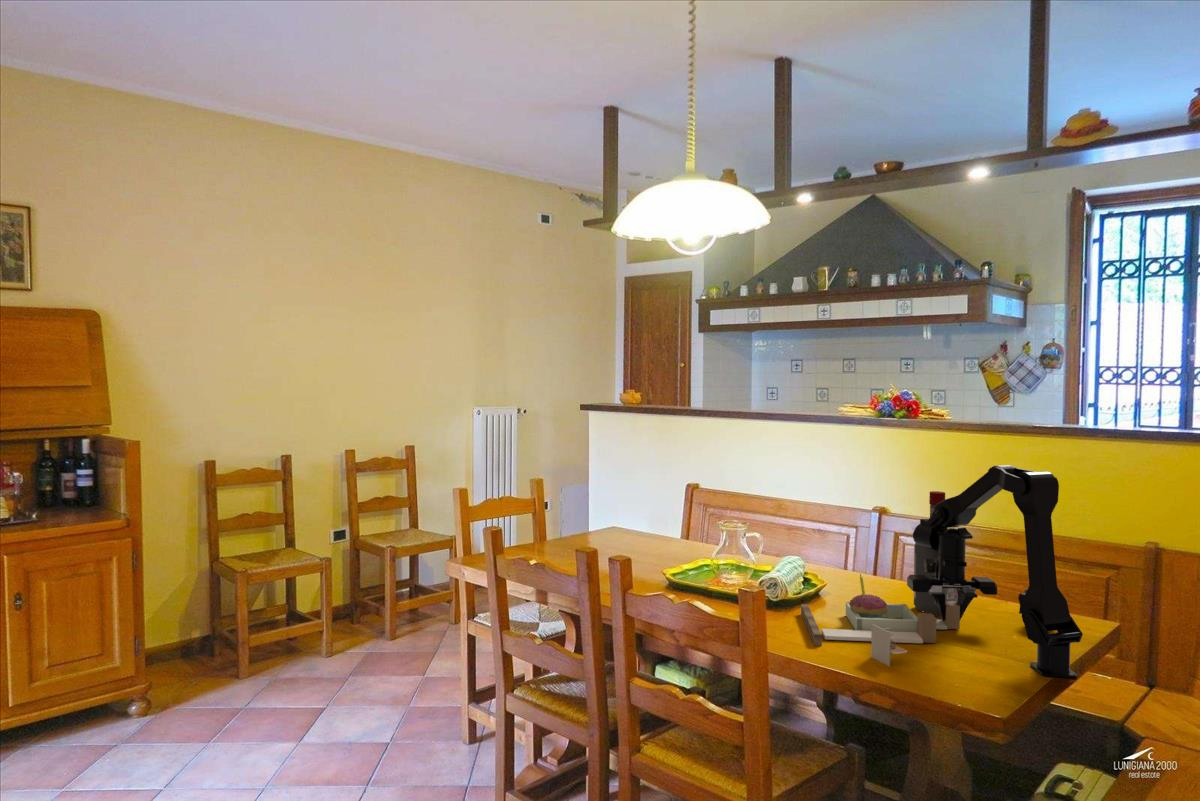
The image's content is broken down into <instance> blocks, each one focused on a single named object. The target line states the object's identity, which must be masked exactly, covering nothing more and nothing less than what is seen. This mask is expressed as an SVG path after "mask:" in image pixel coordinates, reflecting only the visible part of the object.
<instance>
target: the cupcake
mask: <svg viewBox="0 0 1200 801" xmlns="http://www.w3.org/2000/svg"><path fill="white" fill-rule="evenodd" d="M859 582H860V587H861V588H860V590H861V594H859V595H856V596H853V597H852V598H851V599H850V601H848V602H849V605H850V608H851V609H852V610H853V611H854V612H856V613H858V614H859V615H860V617H863V618H883V617H882V615H883V614H886V613H887V610H888V608H887V604H888V603H886V601H885V600H884V599H883V598H882V597H879V596H877V595H874V594H870V593H869V594H866V591H865V584H864V579H863V576H862V574H861V573H859Z"/></svg>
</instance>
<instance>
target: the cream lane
mask: <svg viewBox="0 0 1200 801" xmlns="http://www.w3.org/2000/svg"><path fill="white" fill-rule="evenodd" d="M917 617H918V633H917V632H893V631H889V632H890V643H891V640H893V641H892V643H894V641H895V642H896V643H900V644H902V643H904V644H924V643H927V644H928V643H931V644H932V643H933V644H936V643H937V629H936V619H937V617H936V615H933V614H932V613H924V612H918V613H917ZM821 634H822V637H823V638H824V640H832V641H853V642H854V641H855V642H857V641H858V642H871V636H872V631H868V630H855V629H840V628H839V629H837V628H821ZM892 634H893V635H892Z"/></svg>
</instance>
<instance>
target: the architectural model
mask: <svg viewBox="0 0 1200 801" xmlns="http://www.w3.org/2000/svg"><path fill="white" fill-rule="evenodd" d="M889 629H890V628H885V629H882V628H880V627H878V626H875V625H873V624H872V636H871V641H870V642H871V647H870V648H871V650H870V651H871V652H870V654H871V655H870V657H871V658H872V659H874V660H876V661H878V662H880V663H882V664H883V663H884V665H885V664H886V665H885V666H887V665H888V666H887V667H891V655H892V654H894V655H897V654H898V655H899V654H903V653H908V650H907V649H905V648H903V647H900V646H899V645H897V644H896V643H897V642H895V641H894V642H892V641H893V640H891V642H890V632H889V631H888V630H889ZM892 635H893V634H892Z"/></svg>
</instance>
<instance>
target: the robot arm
mask: <svg viewBox="0 0 1200 801" xmlns="http://www.w3.org/2000/svg"><path fill="white" fill-rule="evenodd" d="M1002 490H1003V491H1005V492H1006V491H1007V492H1010V493H1011V494H1012V497H1013V501H1014V504H1015V505H1016V507H1017V508H1018V509H1019V511H1020V512H1021V515H1023V526H1024V536H1025V549H1026V550H1025V551H1026V560H1027V561H1026V562H1027V571H1028V572H1027V574H1028V588H1027V589H1026V590H1027V591H1026V593H1024V592H1022V593H1019V594H1018V598H1017V599H1018V603H1019V611H1018V614H1019V615H1020V614H1021V619H1022V622H1023V624H1024V628H1025V629H1024V630H1025V634H1026V636H1027V637H1026V638H1027V639H1028V641H1031V642H1032V643H1033V644H1036V645H1037V646H1036V648H1037V649H1036V661H1035V662H1034V661H1030V662H1029V665H1030V666H1031V667H1032V668H1033V669H1035V670H1036V672H1038V673H1039V674H1040V675H1041V676H1043V677H1053V678H1054V677H1056V678H1057V677H1058V678H1078V674H1077V673H1076V672H1075V671H1073V670H1072V669H1071V644H1073V643H1074V644H1075V643H1081V640H1082V637H1083V636H1084V633H1083V631H1082V630H1081V629H1080V627H1079V625H1078V624H1077V623H1076V622H1075V620H1074V619H1073V617H1072V615H1071V613H1070V610H1069V609H1070V608H1069V604H1068V602H1067V601H1068V600H1067V599H1066V597H1065V595H1064V594H1063V593H1062V591H1061V590H1060V588H1059V587H1058V580H1057V571H1056V570H1057V569H1056V558H1055V547H1054V546H1055V545H1054V534H1053V521H1052V515H1053V512H1054V511H1055V508H1056V506H1057V504H1058V502H1059V491H1060V484H1059V480H1058V477H1055V475H1054V474H1053V473H1051V472H1050V471H1047V470H1043V471H1034V470H1029V469H1025V468H1024V469H1023V468H1019V467H1016V466H1013V465H1010V464H1007V465H1006V464H1004V465H1001V464H1000V465H993V466H991V467H989V469H988V470H987V472H986V473H984V474H982V476H981V477H979V478H978V479H977V480H976V481H975V482H973V483H972V484H971V485H970V486H968V487H967V488H966V489H964V490H963V491H962V492H961V493H959V494H957V495H955V496H952V497H949V498H945V500H943V501H941V502H939V503H938V504H937V505H936V506H935V508H934V509H935V510H934V512H933V513H932V515H931V517H930V516H929V518H921V519H919V524H918V525H916V527H915V528H914V530H913V532H912V539H913V542H914V544H915V543H916V544H918V545H920V546H923V547H926V548H930V549H933V550H939V556H937V562H934V560H933V559H924V572H925V573H932V577H935V578H938V580H934V579H929V578H927V577H926V576H925V575H914V574H909V575H908V576H907V579H906V586H907V587H908V588H909V590H911V591H912V592H914V591H915V592H928V593H929V594H931V595H932V596H933V597H934V599H935V601H936V604H937V607H938V610H939V613H940V618H941V619H940V620H943V621H945V594H944V593H943V592H942V588H956V589H957V594H958V601H957V604H959V605H960V621H961V619H962V617H963V616H964V614H965V611H966V610H967V608H968V607H969V605H970V603H971V602H972V601H973V599H977V598H978V594H977V593H976V591H977V590H979V591H980V592H981V593H982V594H983V595H987V596H988V595H989V596H990V595H992V596H993V595H995V596H997V595H998V584H997V583H996V582H995V581H994V580H992V579H991V578H989V577H988V576H972V577H971V579H970V580H967V579H966V567H967V566H968V564H967V561H966V541H967V540H969V539H970V540H972V539H973V537H974V536H973V535H972V533H971V532H969V531H968V530H967V528H966V527H965V526H967V525H969V524H970V523H971V521H972V520H973V519H974V518H975V517H976V515H977V510H978V509H979V508H980V507H981V506H983V504H984V505H985V503H987V502H988V501H989V500H991V499H992V498H993V497H995V496H996V495H997V494H998V493H1000V492H1001V491H1002ZM960 526H964V527H960ZM954 584H959V585H954ZM1052 631H1056V632H1052ZM1050 632H1051V633H1050Z"/></svg>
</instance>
